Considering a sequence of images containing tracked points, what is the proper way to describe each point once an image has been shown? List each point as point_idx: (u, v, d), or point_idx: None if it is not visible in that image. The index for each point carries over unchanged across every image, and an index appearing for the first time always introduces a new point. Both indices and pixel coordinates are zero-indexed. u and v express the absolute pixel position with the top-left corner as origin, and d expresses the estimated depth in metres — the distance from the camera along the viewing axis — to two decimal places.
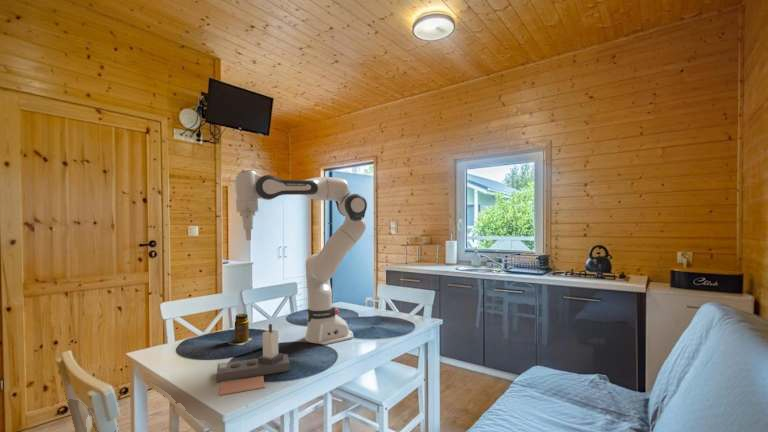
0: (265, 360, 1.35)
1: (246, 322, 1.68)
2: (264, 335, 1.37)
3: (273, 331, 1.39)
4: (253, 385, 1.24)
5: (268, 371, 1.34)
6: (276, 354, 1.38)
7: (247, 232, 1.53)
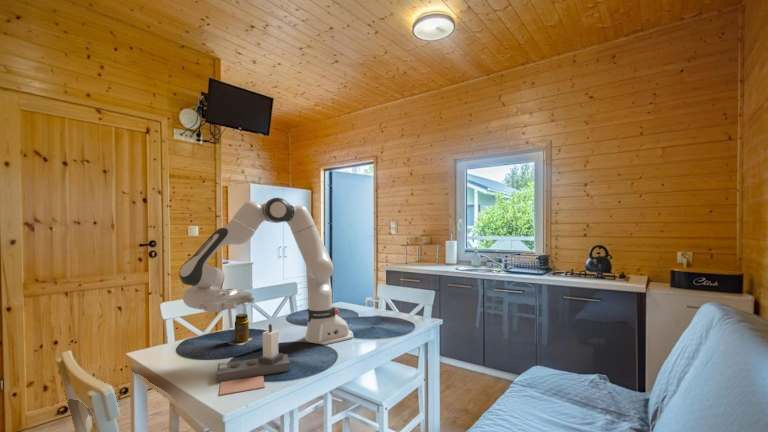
0: (265, 360, 1.35)
1: (246, 322, 1.68)
2: (264, 335, 1.37)
3: (273, 331, 1.39)
4: (253, 385, 1.24)
5: (268, 371, 1.34)
6: (276, 354, 1.38)
7: (225, 307, 1.38)
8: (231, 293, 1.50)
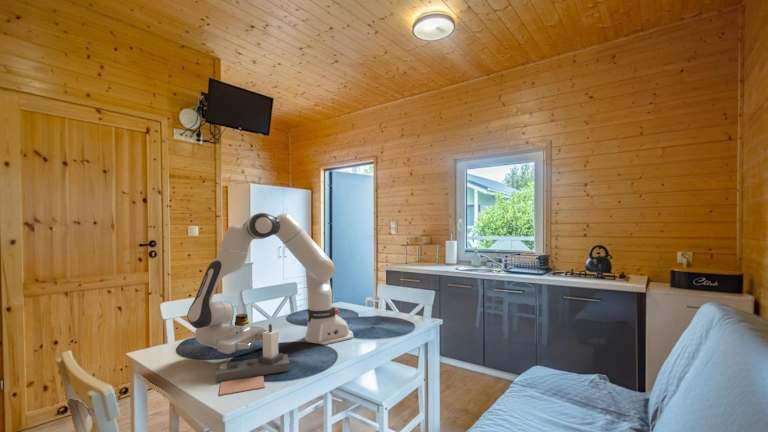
0: (265, 360, 1.35)
1: (246, 322, 1.68)
2: (264, 335, 1.37)
3: (273, 331, 1.39)
4: (253, 385, 1.24)
5: (268, 371, 1.34)
6: (276, 354, 1.38)
7: (239, 347, 1.36)
8: (244, 330, 1.48)
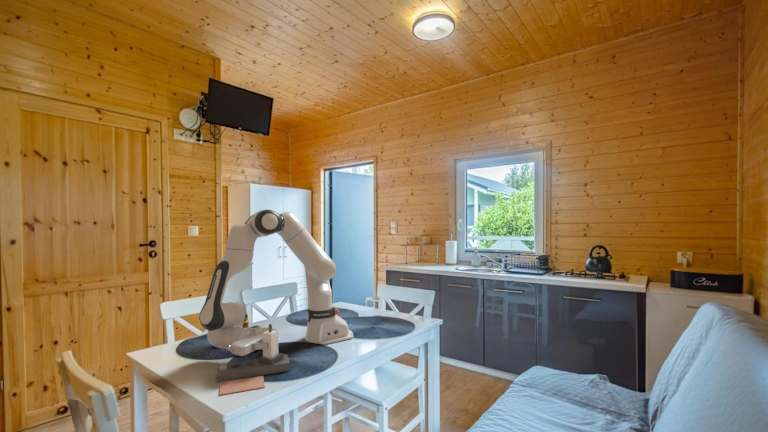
0: (265, 360, 1.35)
1: (246, 322, 1.68)
2: (264, 335, 1.37)
3: (273, 331, 1.39)
4: (253, 385, 1.24)
5: (268, 371, 1.34)
6: (276, 354, 1.38)
7: (257, 347, 1.35)
8: (257, 331, 1.46)
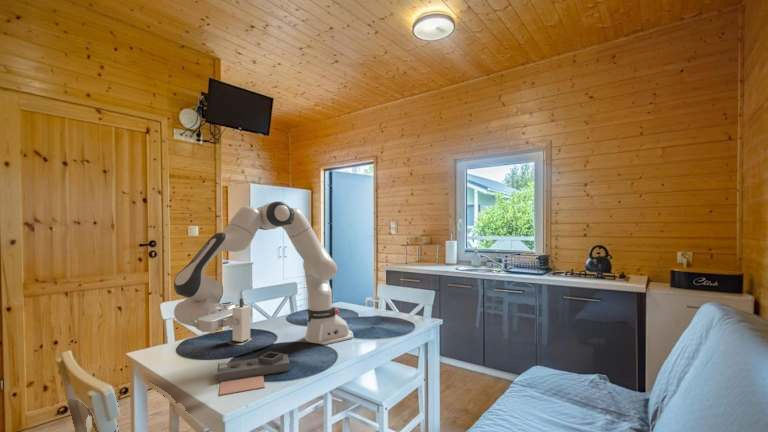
0: (265, 360, 1.35)
1: None
2: (234, 310, 1.24)
3: (244, 306, 1.25)
4: (253, 385, 1.24)
5: (268, 371, 1.34)
6: (247, 332, 1.25)
7: (226, 324, 1.22)
8: (228, 308, 1.32)
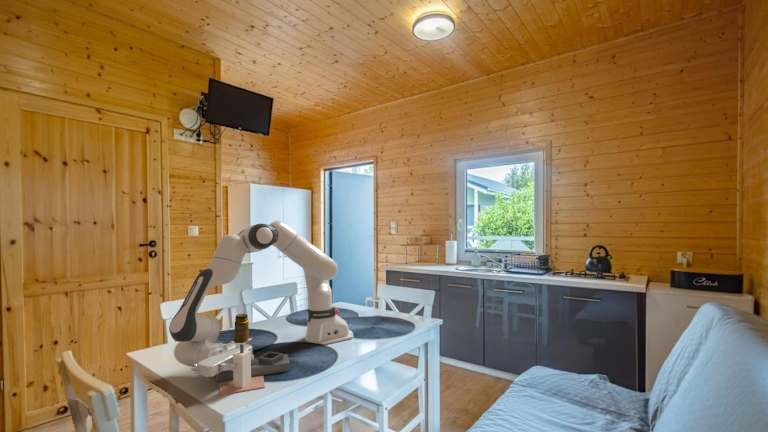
0: (265, 360, 1.35)
1: (246, 322, 1.68)
2: (235, 356, 1.23)
3: (245, 352, 1.25)
4: (253, 385, 1.24)
5: (268, 371, 1.34)
6: (248, 377, 1.25)
7: (223, 369, 1.20)
8: (229, 348, 1.32)
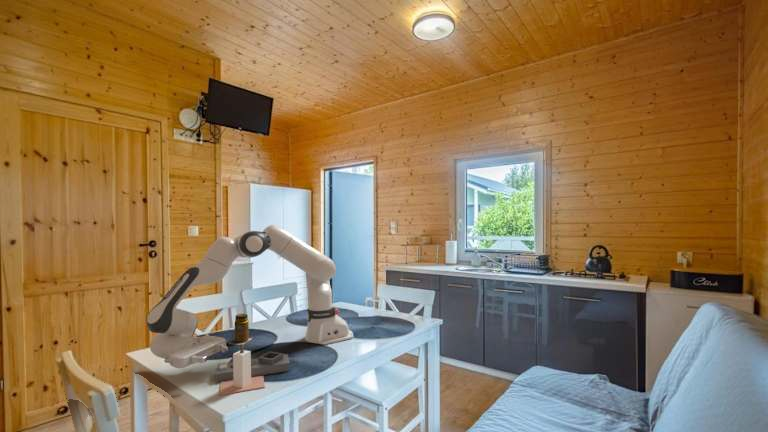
0: (265, 360, 1.35)
1: (246, 322, 1.68)
2: (235, 356, 1.23)
3: (245, 352, 1.25)
4: (253, 385, 1.24)
5: (268, 371, 1.34)
6: (248, 377, 1.25)
7: (193, 361, 1.25)
8: (203, 341, 1.37)
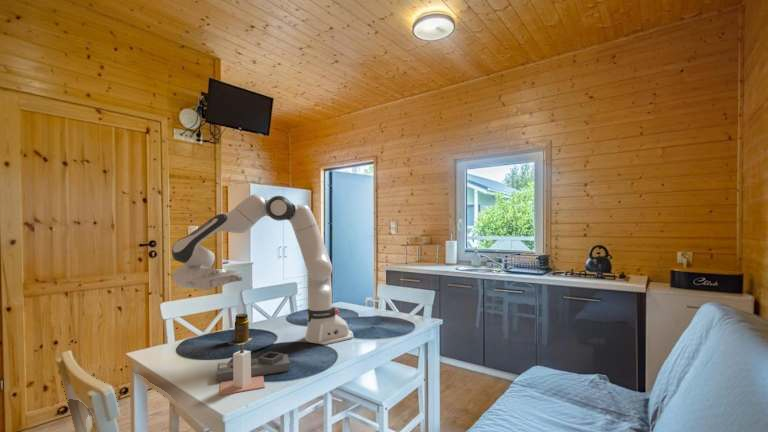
0: (265, 360, 1.35)
1: (246, 322, 1.68)
2: (235, 356, 1.23)
3: (245, 352, 1.25)
4: (253, 385, 1.24)
5: (268, 371, 1.34)
6: (248, 377, 1.25)
7: (213, 284, 1.41)
8: (220, 272, 1.53)
